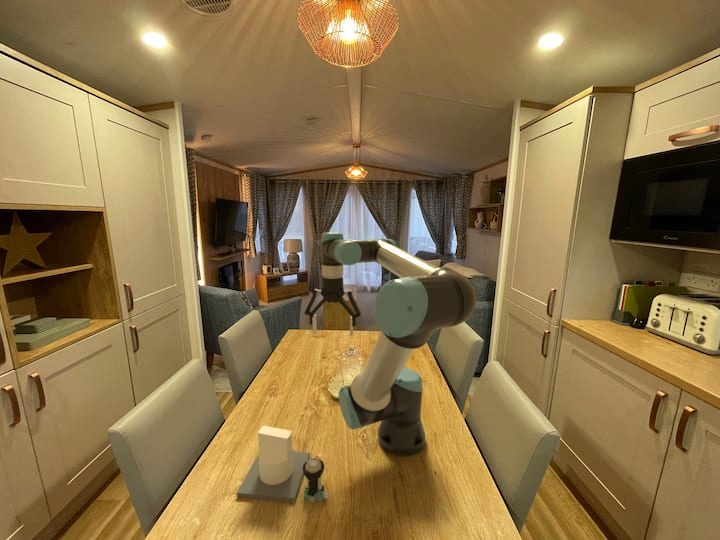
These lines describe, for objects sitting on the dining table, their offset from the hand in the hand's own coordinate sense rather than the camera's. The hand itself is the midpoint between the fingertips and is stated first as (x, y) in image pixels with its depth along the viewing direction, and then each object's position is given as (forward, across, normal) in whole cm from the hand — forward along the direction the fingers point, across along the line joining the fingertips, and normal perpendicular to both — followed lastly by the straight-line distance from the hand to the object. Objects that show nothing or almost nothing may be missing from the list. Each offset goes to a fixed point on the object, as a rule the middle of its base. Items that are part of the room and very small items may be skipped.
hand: (332, 333), depth 111 cm
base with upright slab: (+28, +10, +33) cm, 44 cm away
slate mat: (+29, +10, +33) cm, 45 cm away
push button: (+29, -2, +38) cm, 48 cm away
